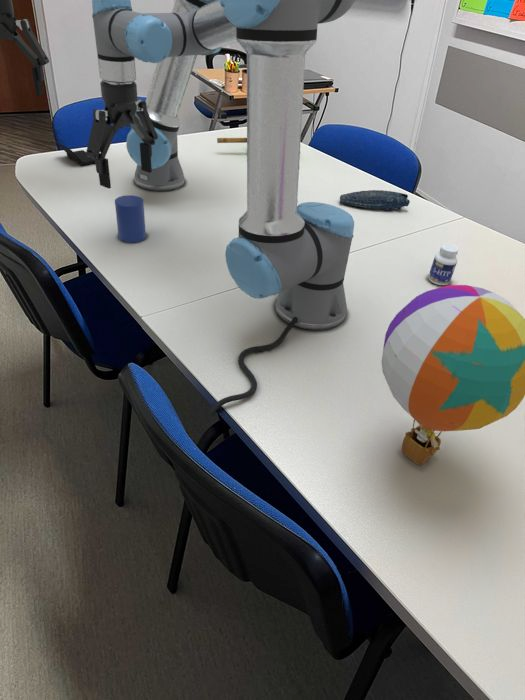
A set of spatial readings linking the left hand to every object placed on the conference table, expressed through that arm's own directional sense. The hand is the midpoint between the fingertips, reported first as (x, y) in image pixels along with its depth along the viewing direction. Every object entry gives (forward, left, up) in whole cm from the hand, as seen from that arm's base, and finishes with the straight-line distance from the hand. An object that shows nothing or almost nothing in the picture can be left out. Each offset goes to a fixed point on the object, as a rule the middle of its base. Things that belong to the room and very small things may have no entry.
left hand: (13, 92), depth 133 cm
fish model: (-10, +100, -26) cm, 104 cm away
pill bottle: (+32, +111, -26) cm, 118 cm away
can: (+22, +34, -26) cm, 48 cm away
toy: (+88, +94, -26) cm, 132 cm away
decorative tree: (-49, +63, -26) cm, 84 cm away
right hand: (+22, +33, -11) cm, 42 cm away
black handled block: (-28, +4, -26) cm, 39 cm away
